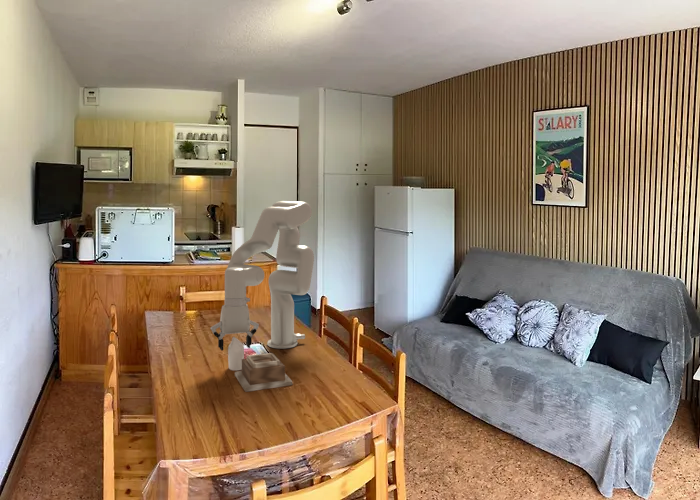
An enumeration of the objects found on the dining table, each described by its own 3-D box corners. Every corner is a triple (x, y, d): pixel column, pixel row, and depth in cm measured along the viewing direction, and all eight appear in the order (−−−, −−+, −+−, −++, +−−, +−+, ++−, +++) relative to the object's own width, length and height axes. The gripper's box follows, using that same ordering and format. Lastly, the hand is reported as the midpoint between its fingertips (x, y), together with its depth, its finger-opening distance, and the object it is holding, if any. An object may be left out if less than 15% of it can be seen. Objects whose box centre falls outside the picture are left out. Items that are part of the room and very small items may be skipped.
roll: (247, 335, 193) (238, 339, 188) (247, 367, 195) (238, 371, 190) (233, 333, 196) (224, 337, 191) (234, 364, 197) (224, 369, 192)
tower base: (278, 369, 193) (278, 348, 192) (292, 384, 179) (292, 362, 178) (234, 375, 186) (234, 354, 185) (245, 391, 172) (245, 369, 171)
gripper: (256, 298, 197) (255, 343, 199) (209, 301, 190) (208, 347, 192) (261, 302, 190) (261, 348, 192) (212, 305, 183) (212, 353, 185)
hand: (235, 348), depth 192 cm, fingers open, 9 cm apart
